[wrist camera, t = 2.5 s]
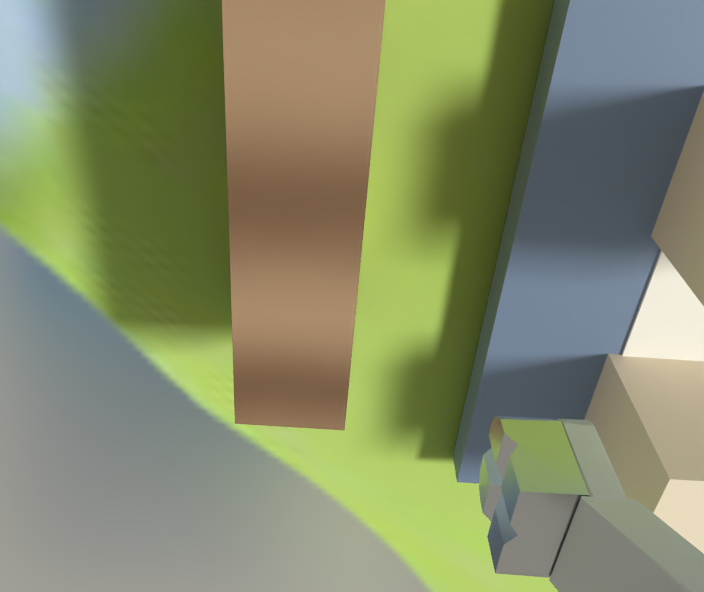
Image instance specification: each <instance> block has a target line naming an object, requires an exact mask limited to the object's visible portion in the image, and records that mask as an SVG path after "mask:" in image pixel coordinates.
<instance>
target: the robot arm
mask: <svg viewBox="0 0 704 592" xmlns="http://www.w3.org/2000/svg"><path fill="white" fill-rule="evenodd" d="M489 438H490V443H491V447H492V448H491V449H490V450H488V451H487V452H486V453H484V454H483V459H482V463H481V468H480V481H479V490H480V501H481V506H482V511H483V513H484V515H485V516H486V517H487V518H488V519H489V520H490V521H491V525H490V529H489V533H488V536H487V537H488V541H489V546H490V551H491V556H492V560H493V565H494V570H495V573H498V574H511V575H524V576H537V577H549V578H550V582H551V583H552V584H553V585H554V586H555V588H556V589H557V590H558V591H559V592H704V554H703V553H702V552H701V551H700V550H698V549H697V548H696V547H695V546H693V545H692V544H691V543H690V542H688V541H687V540H686V539H685V538H683V537H682V536H681V535H680V534H678V533H677V532H676V531H675V530H673V529H672V528H671V527H670V526H669V525H667V524H666V523H665V522H664V521H662V520H661V519H660V518H659V517H657V516H656V515H655V514H654V513H652V512H651V511H650V510H649V509H647V508H646V507H645V506H644V505H642V504H641V503H640V502H639V501H637V500H636V499H627V498H626V496H625V494H624V491H623V489H622V487H621V485H620V482H619V480H618V478H617V476H616V473H615V471H614V469H613V467H612V464H611V462H610V460H609V458H608V455H607V453H606V451H605V449H604V446H603V444H602V442H601V440H600V438H599V435H598V433H597V431H596V429H595V426H594V424H593V423H591V422H590V421H589V420H577V419H557V420H556V419H545V418H526V417H507V416H495V418H494V419H493V421H492V423H491V427H490V431H489Z"/></svg>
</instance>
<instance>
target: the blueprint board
mask: <svg viewBox="0 0 704 592" xmlns="http://www.w3.org/2000/svg"><path fill="white" fill-rule="evenodd" d="M495 416H507V417H526V418H545V419H556V420H557V419H577V420H589V421H590V422H591V423H593V424H594V426H595V429H596V431H597V433H598V435H599V438H600V440H601V442H602V444H603V446H604V449H605V451H606V453H607V455H608V458H609V460H610V462H611V464H612V467H613V469H614V471H615V473H616V476H617V478H618V480H619V482H620V485H621V487H622V489H623V491H624V494H625V496H626V498H627V499H636V500H637V501H639V502H640V503H641V504H642V505H644V506H645V507H646V508H647V509H649V510H650V511H651V512H652V513H654V514H655V515H656V516H657V517H659V518H660V519H661V520H662V521H664V522H665V523H666V524H667V525H669V526H670V527H671V528H672V529H673V530H675V531H676V532H677V533H678V534H680V535H681V536H682V537H683V538H685V539H686V540H687V541H688V542H690V543H691V544H692V545H693V546H695V547H696V548H697V549H698V550H700V551H701V552H702V553H703V554H704V0H555V1H554V5H553V10H552V14H551V18H550V23H549V27H548V32H547V36H546V41H545V45H544V50H543V54H542V59H541V63H540V68H539V72H538V77H537V81H536V86H535V90H534V95H533V99H532V104H531V108H530V113H529V117H528V122H527V126H526V131H525V135H524V140H523V144H522V149H521V153H520V158H519V162H518V167H517V171H516V176H515V180H514V185H513V189H512V194H511V198H510V203H509V207H508V212H507V216H506V221H505V225H504V230H503V234H502V239H501V243H500V248H499V252H498V257H497V261H496V266H495V270H494V275H493V279H492V284H491V288H490V293H489V297H488V302H487V306H486V311H485V315H484V320H483V324H482V328H481V333H480V337H479V342H478V346H477V351H476V355H475V360H474V364H473V369H472V373H471V378H470V382H469V387H468V391H467V396H466V400H465V405H464V409H463V414H462V418H461V423H460V427H459V432H458V436H457V441H456V445H455V450H454V454H453V458H454V465H455V471H456V478H457V482H465V483H479V481H480V468H481V463H482V459H483V454H484V453H486V452H487V451H488V450H490V449H491V448H492V447H491V443H490V438H489V431H490V427H491V423H492V421H493V419H494V418H495Z"/></svg>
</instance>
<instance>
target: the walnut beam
mask: <svg viewBox="0 0 704 592" xmlns="http://www.w3.org/2000/svg"><path fill="white" fill-rule="evenodd" d="M384 9H385V0H222V24H223V56H224V88H225V119H226V151H227V183H228V215H229V247H230V278H231V310H232V342H233V374H234V406H235V424H250V425H267V426H283V427H300V428H316V429H333V430H344V429H345V419H346V408H347V398H348V387H349V377H350V366H351V356H352V345H353V335H354V324H355V314H356V303H357V293H358V282H359V272H360V261H361V251H362V240H363V230H364V219H365V209H366V198H367V188H368V177H369V167H370V156H371V146H372V135H373V125H374V114H375V104H376V93H377V83H378V72H379V62H380V51H381V41H382V30H383V20H384Z"/></svg>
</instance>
